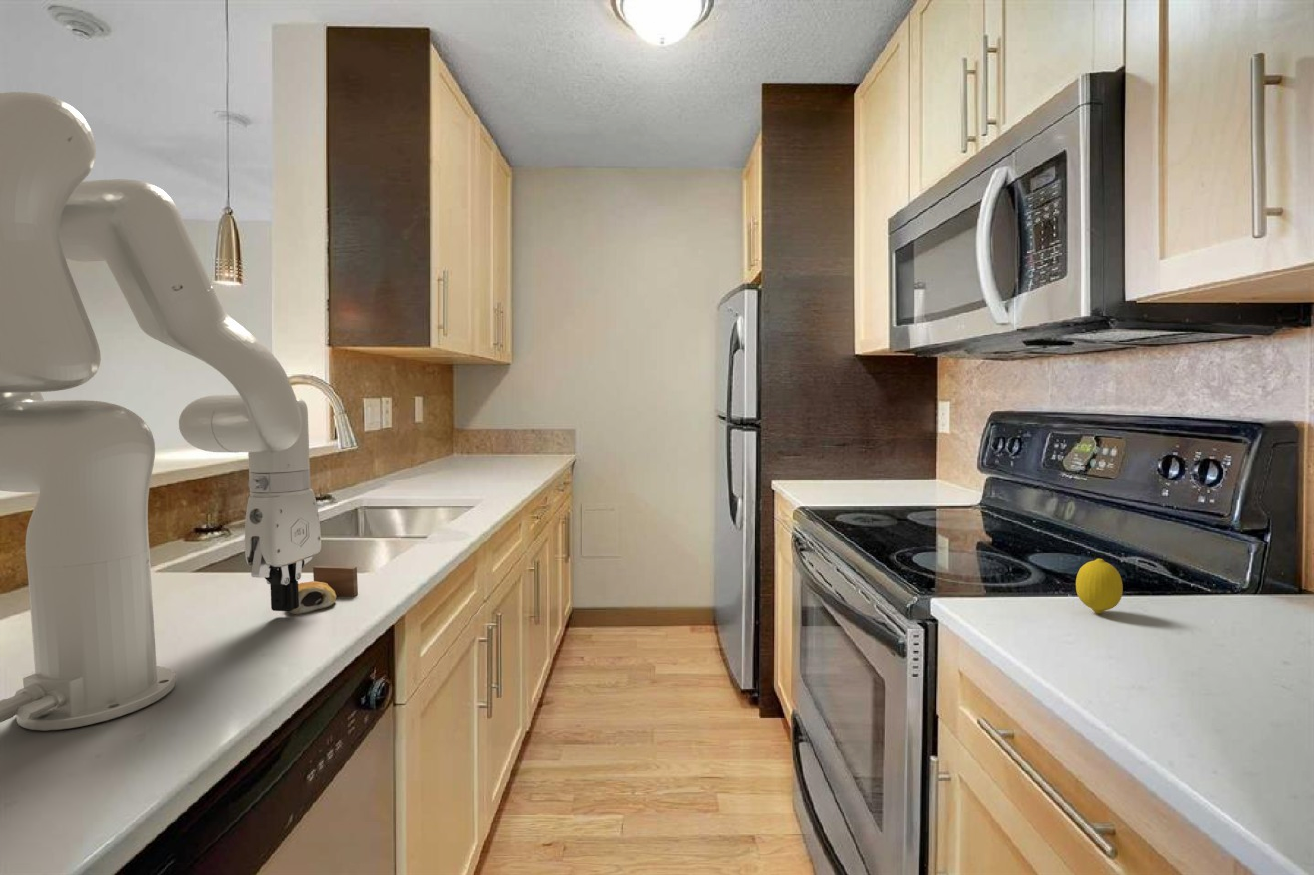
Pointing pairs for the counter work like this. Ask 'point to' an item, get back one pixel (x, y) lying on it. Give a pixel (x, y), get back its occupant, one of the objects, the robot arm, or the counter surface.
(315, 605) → the pastry
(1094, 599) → the lemon
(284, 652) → the counter surface
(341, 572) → the walnut block
